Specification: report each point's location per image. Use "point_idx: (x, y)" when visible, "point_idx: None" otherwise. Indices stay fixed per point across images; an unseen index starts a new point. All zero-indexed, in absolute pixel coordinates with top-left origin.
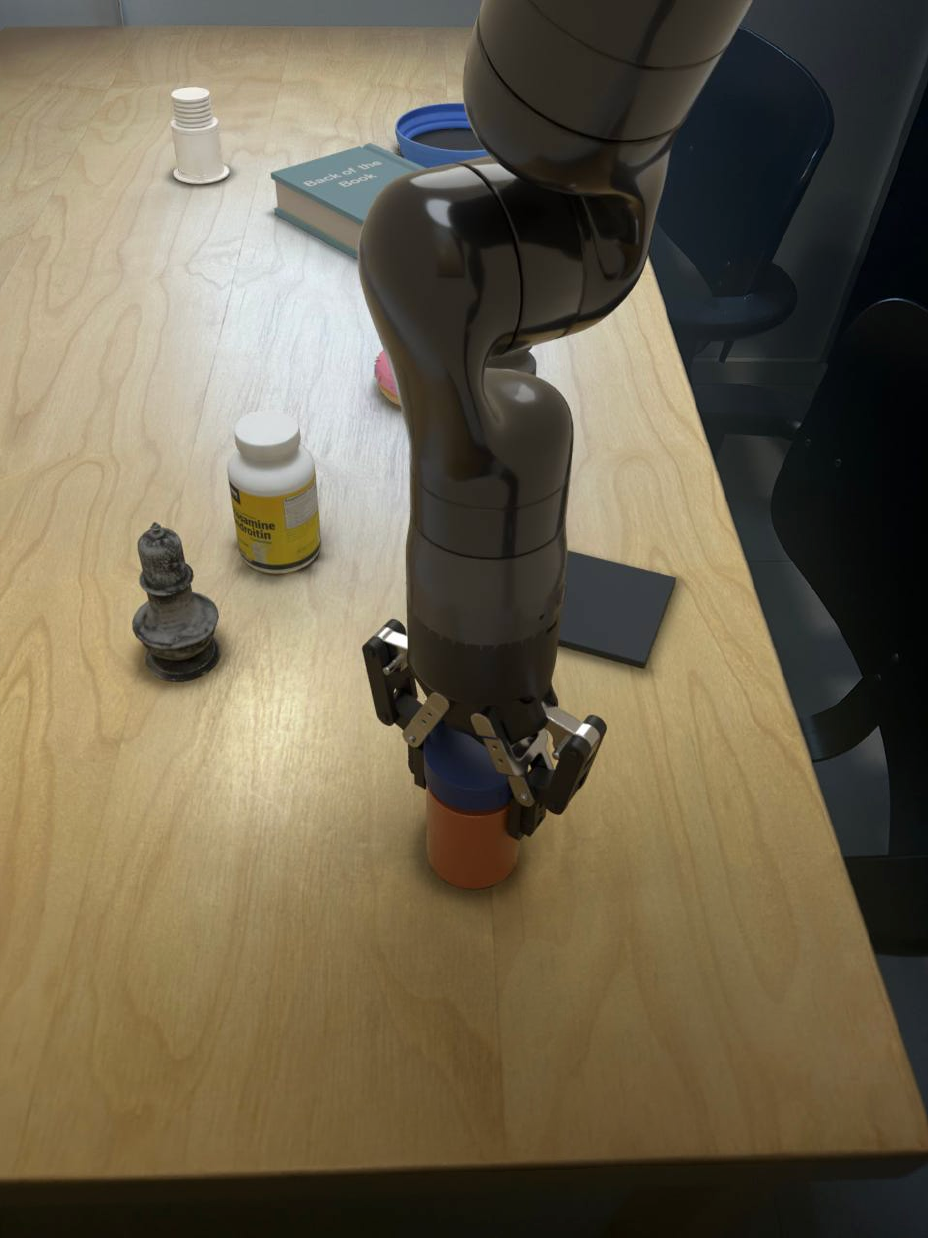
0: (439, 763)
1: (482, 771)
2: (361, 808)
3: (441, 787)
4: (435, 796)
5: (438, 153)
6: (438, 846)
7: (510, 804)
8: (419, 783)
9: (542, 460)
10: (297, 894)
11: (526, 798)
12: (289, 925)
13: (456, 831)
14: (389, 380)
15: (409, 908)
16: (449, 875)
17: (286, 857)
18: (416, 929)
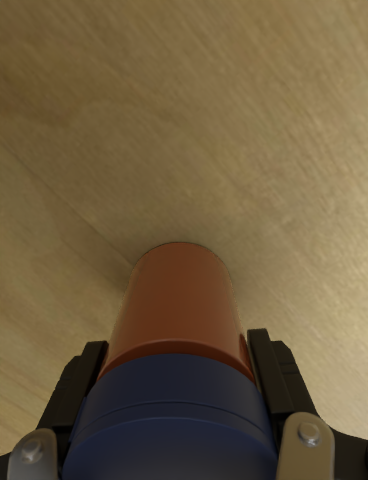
0: (207, 439)
1: (121, 465)
2: (318, 254)
3: (174, 390)
4: (201, 347)
5: None
6: (187, 272)
7: (77, 408)
8: (258, 335)
9: None
10: (315, 109)
11: (22, 456)
12: (295, 63)
13: (153, 309)
14: None
15: (184, 190)
16: (170, 250)
17: (362, 143)
18: (158, 174)
